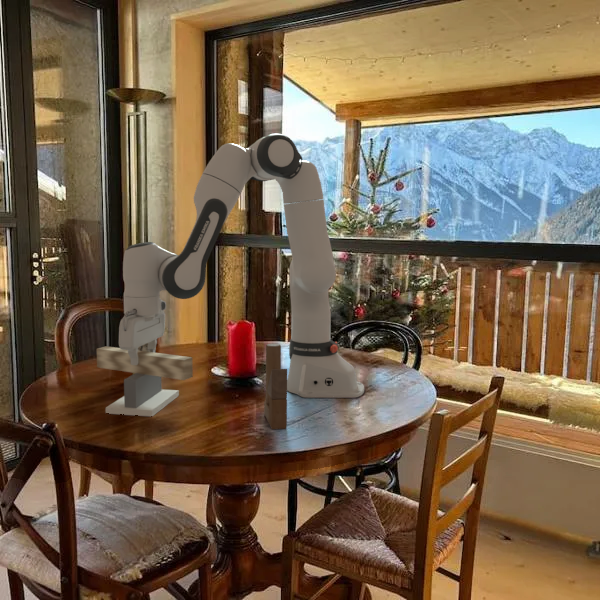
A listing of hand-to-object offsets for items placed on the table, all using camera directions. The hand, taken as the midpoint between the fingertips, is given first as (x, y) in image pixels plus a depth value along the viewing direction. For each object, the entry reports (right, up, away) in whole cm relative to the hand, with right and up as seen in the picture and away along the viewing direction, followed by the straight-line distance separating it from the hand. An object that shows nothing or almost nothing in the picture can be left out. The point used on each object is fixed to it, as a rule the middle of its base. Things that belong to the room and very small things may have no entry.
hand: (143, 360), depth 152 cm
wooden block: (+34, -14, -11) cm, 39 cm away
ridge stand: (0, -12, +1) cm, 12 cm away
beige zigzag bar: (0, -3, 0) cm, 3 cm away
